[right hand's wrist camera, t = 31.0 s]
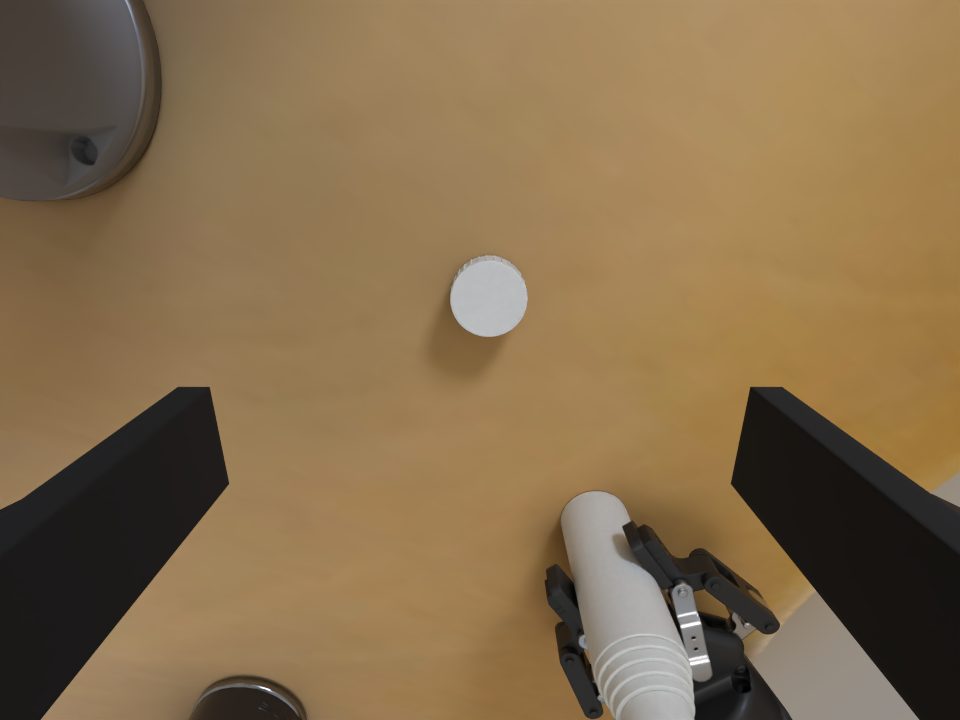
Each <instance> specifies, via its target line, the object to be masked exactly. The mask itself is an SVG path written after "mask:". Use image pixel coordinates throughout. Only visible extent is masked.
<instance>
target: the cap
mask: <svg viewBox="0 0 960 720" xmlns="http://www.w3.org/2000/svg"><path fill="white" fill-rule="evenodd" d="M453 282H454V283H452V286H451V289H450V290H451V294H450V305H451V309H452V312H453V314H454V316H455V318H456V320H457V321H458V323H459V324H460V325H461V326H462V327H463V328H465V329H466V330H467V331H469V332H471V333H473V334H475V335H478V336H483V337H494V336H499V335H502V334H505V333H507V332H508V331H510V330H512V329H513V328H514V327H515V326H516V325H517V324H518V323H519V322H520V320H521V319H522V317H523V315H524V313H525V310H526V307H527V300H528V298H527V289H526V286H525V285H526V284H525V281H524V279H523V278H522V275H521V273H520V271H518V270H517V269H516V266H515V265H513V264H511V263H510V261H509V260H508V261H507V260H505V259H503V258H502V257H501V258H500V257H497V256H495V255H493V256H487V255H485V256H481V257H479V256H478V257H477V258H474V259H470V261H469V262H467V263H466V264H464V266H463V267H462V268H461V269H459V270H458V273H457V275H455V277H454V280H453Z"/></svg>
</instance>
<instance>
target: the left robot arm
mask: <svg viewBox="0 0 960 720" xmlns="http://www.w3.org/2000/svg"><path fill="white" fill-rule="evenodd" d="M622 528H623V531H624V533H625V536H626V538H627V541H628V543H629V545H630V547H631V549H632V550H633V552H634V553H635V555H636V556H637V557H638V559H639V560H640V561H641V562H642V564H643V565H644V566H645V568H646V569H647V570H648V571H649V573H650V574H651V575H652V577H653V578H654V579H655V580H656V582H657V583H658V584H659V586H660V587H661V588H662V590H663V591H664V595H665V600H666V605H667V607H668V610H669V612H670V615H671V617H672V619H673V622H674V624H675V626H676V629H677V631H678V633H679V636H680V638H681V641H682V643H683V645H684V648H685V650H686V652H687V655H688V657H689V662H690V666H691V669H692V680H693V692H694V705H695V716H694V719H695V720H792V718H791V717H790V715H789V713H788V712H787V710H786V709H785V708H784V706H783V705H782V704H781V702H780V701H779V699H778V698H777V697H776V695H775V694H774V693H773V691H772V690H771V689H770V687H769V686H768V685H767V683H766V682H765V681H764V679H763V678H762V677H761V675H760V674H759V673H758V671H757V670H756V669H755V667H754V666H753V665H752V663H751V662H750V661H749V659H748V658H747V657H746V655H745V654H744V645H743V642H742V640H743V639H744V638H745V637H747V636H748V635H749V634H751V633H752V632H753V631H755V630H756V629H758V630H759V631H760V632H761V633H763V634H773V633H775V632H776V631H777V630H778V629H779V627H780V623H779V622H778V620H777V619H776V617H775V616H774V614H773V612H772V611H771V609H770V608H769V606H768V605H767V603H766V602H765V600H764V599H763V597H762V596H761V594H760V593H759V591H758V590H757V589H755V588H754V587H753V586H751V585H750V584H749V583H748V582H746V581H745V580H744V579H742V578H741V577H740V576H739V575H737V574H736V573H735V572H733V571H732V570H731V569H730V568H728V567H727V566H726V565H724V564H723V563H722V562H721V561H719V560H718V559H717V558H715V557H714V556H713V555H712V554H710V553H709V552H708V551H706V550H705V549H701V548H699V549H695V550H693V551H692V552H691V553H690V555H689V557H688V558H683V559H680V558H676V557H674V556H672V555H671V553H670V552H669V551H668V549H667V548H666V547H665V545H664V544H663V543H662V541H661V540H660V539H659V537H658V536H657V535H656V533H655V532H654V531H653V529H652V528H650V527H649V526H647V525H645V524H644V525H642V526H640V527H639V528H638V527H637V526H636V524H635V523H634V522H633V521H630V522H628V523H627V524H625V525H623V526H622ZM546 574H547V579H546V580H545V586H546V593H547V599H548V603H549V605H550V606H551V608H552V609H553V610H555V612H556V613H557V614H558V615H559V617H560V618H561V619H562V620H563V621H564V622H560V623H558V624H557V625H556V626H555V632H556V639H557V646H558V652H559V659H560V664H561V666H562V668H563V670H564V672H565V674H566V676H567V678H568V680H569V683H570V685H571V687H572V689H573V691H574V693H575V695H576V697H577V699H578V701H579V704H580V706H581V708H582V710H583V712H584V714H585V716H586V717H588V718H590V719H596V718H599V717H600V716H602V714H603V709H602V704H601V703H605V701H604V699H603V698H602V696H601V695H600V692H599V690H598V686H597V684H596V682H595V679H594V676H593V671H592V666H591V664H590V663H589V661H588V659H587V656H586V654H585V652H584V649H586V650H588V648H587V643H586V638H585V634H584V629H583V624H582V620H581V615H580V610H579V606H578V601H577V596H576V592H575V587H574V583H573V582H572V581H571V580H570V579H569V577H568V576H567V575H566V574H565V573H564V571H563V570H562V569H561V568H560V567H559V566H558V565H557V564H555V565H553V566H551V567H549V568H548V569H546ZM702 589H705V590H706V591H707V592H708V593H710V594H711V595H712V596H714V597H715V598H716V599H718V600H719V601H720V602H722V603H723V604H724V605H726V609H727V610H728V612H729V614H730V616H729V618H728V620H727V619H725V618H722V617H719V616H715V615H712V614H708V613H704V612H701V611H697V608H696V604H695V599H694V594H693V591H698V590H702ZM189 720H306V716H305V712H304V710H303V708H302V706H301V705H300V704H299V702H298V701H297V700H296V699H295V698H294V697H293V696H292V695H291V694H290V693H288V692H287V691H286V690H284V689H282V688H281V687H279V686H277V685H275V684H272V683H269V682H266V681H263V680H259V679H253V678H232V679H227V680H223V681H220V682H217V683H215V684H213V685H212V686H210V687H209V688H207V689H206V690H205V691H204V692H203V693H202V695H201V696H200V698H199V700H198V701H197V703H196V705H195V707H194V709H193V712H192V715H191V717H190V719H189Z"/></svg>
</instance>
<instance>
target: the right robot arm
mask: <svg viewBox="0 0 960 720" xmlns="http://www.w3.org/2000/svg"><path fill="white" fill-rule="evenodd" d="M160 99H161V66H160V58H159V51H158V46H157V42H156V38H155V33H154V30H153V27H152V24H151V20H150V17H149V15H148V12H147V10H146V7H145V5H144V2H143V0H0V197H3V198H8V199H14V200H22V201H47V200H67V199H74V198H80V197H84V196H88V195H91V194H94V193H96V192H99V191H101V190H103V189H105V188H107V187H109V186H110V185H112V184H114V183H115V182H116V181H118V180H119V179H120V178H122V177H123V176H124V175H125V174H126V173H127V172H128V171H129V170H130V169H131V168H132V167H133V166H134V165H135V163H136V162H137V161H138V160H139V158H140V157H141V155H142V154H143V152H144V150H145V149H146V147H147V145H148V143H149V141H150V138H151V136H152V133H153V131H154V128H155V125H156V121H157V117H158V112H159V106H160ZM228 485H229V481H228V476H227V471H226V466H225V461H224V456H223V451H222V446H221V441H220V436H219V431H218V426H217V421H216V416H215V411H214V406H213V402H212V397H211V392H210V387H177V388H176V389H175V390H173V391H172V392H170V393H169V394H168V395H166V396H165V397H163V398H162V399H161V400H159V401H158V402H156V403H155V404H154V405H152V406H151V407H149V408H148V409H147V410H145V411H144V412H143V413H141V414H140V415H138V416H137V417H136V418H134V419H133V420H131V421H130V422H129V423H127V424H126V425H124V426H123V427H122V428H120V429H119V430H117V431H116V432H115V433H113V434H112V435H111V436H109V437H108V438H106V439H105V440H104V441H102V442H101V443H99V444H98V445H97V446H95V447H94V448H92V449H91V450H90V451H88V452H87V453H85V454H84V455H83V456H81V457H80V458H78V459H77V460H76V461H74V462H73V463H72V464H70V465H69V466H67V467H66V468H65V469H63V470H62V471H60V472H59V473H58V474H56V475H55V476H53V477H52V478H51V479H49V480H48V481H46V482H45V483H44V484H42V485H41V486H40V487H38V488H37V489H35V490H34V491H33V492H31V493H30V494H28V495H27V496H26V497H24V498H23V499H21V500H19V501H17V502H15V503H13V504H11V505H9V506H7V507H5V508H3V509H1V510H0V720H41V718H42V717H43V716H44V715H45V713H46V712H47V711H48V710H49V708H50V707H51V706H52V705H53V703H54V702H55V701H56V700H57V698H58V697H59V696H60V695H61V693H62V692H63V691H64V690H65V688H66V687H67V686H68V685H69V683H70V682H71V681H72V680H73V678H74V677H75V676H76V675H77V673H78V672H79V671H80V670H81V668H82V667H83V666H84V665H85V663H86V662H87V661H88V660H89V658H90V657H91V656H92V655H93V653H94V652H95V651H96V650H97V648H98V647H99V646H100V645H101V643H102V642H103V641H104V640H105V638H106V637H107V636H108V635H109V633H110V632H111V631H112V630H113V628H114V627H115V626H116V625H117V623H118V622H119V621H120V620H121V618H122V617H123V616H124V615H125V613H126V612H127V611H128V610H129V608H130V607H131V606H132V605H133V603H134V602H135V601H136V600H137V598H138V597H139V596H140V595H141V593H142V592H143V591H144V590H145V588H146V587H147V586H148V585H149V583H150V582H151V581H152V580H153V578H154V577H155V576H156V575H157V573H158V572H159V571H160V570H161V568H162V567H163V566H164V565H165V563H166V562H167V561H168V560H169V558H170V557H171V556H172V555H173V553H174V552H175V551H176V550H177V548H178V547H179V546H180V545H181V543H182V542H183V541H184V540H185V538H186V537H187V536H188V535H189V533H190V532H191V531H192V530H193V528H194V527H195V526H196V525H197V523H198V522H199V521H200V520H201V518H202V517H203V516H204V515H205V513H206V512H207V511H208V510H209V508H210V507H211V506H212V505H213V503H214V502H215V501H216V500H217V498H218V497H219V496H220V495H221V493H222V492H223V491H224V490H225V488H226V487H227V486H228ZM731 485H732V486H733V487H734V488H735V490H736V491H737V492H738V493H739V495H740V496H741V497H742V498H743V500H744V501H745V502H746V503H747V505H748V506H749V507H750V508H751V510H752V511H753V512H754V513H755V515H756V516H757V517H758V518H759V520H760V521H761V522H762V523H763V525H764V526H765V527H766V528H767V530H768V531H769V532H770V533H771V535H772V536H773V537H774V538H775V540H776V541H777V542H778V543H779V545H780V546H781V547H782V548H783V550H784V551H785V552H786V553H787V555H788V556H789V557H790V558H791V560H792V561H793V562H794V563H795V565H796V566H797V567H798V568H799V570H800V571H801V572H802V573H803V575H804V576H805V577H806V578H807V580H808V581H809V582H810V583H811V585H812V586H813V587H814V588H815V590H816V591H817V592H818V593H819V595H820V596H821V597H822V598H823V600H824V601H825V602H826V603H827V605H828V606H829V607H830V608H831V610H832V611H833V612H834V613H835V615H836V616H837V617H838V618H839V620H840V621H841V622H842V623H843V625H844V626H845V627H846V628H847V630H848V631H849V632H850V633H851V635H852V636H853V637H854V638H855V640H856V641H857V642H858V643H859V645H860V646H861V647H862V648H863V650H864V651H865V652H866V653H867V655H868V656H869V657H870V658H871V660H872V661H873V662H874V663H875V665H876V666H877V667H878V668H879V670H880V671H881V672H882V673H883V675H884V676H885V677H886V678H887V680H888V681H889V682H890V683H891V685H892V686H893V687H894V688H895V690H896V691H897V692H898V693H899V695H900V696H901V697H902V698H903V700H904V701H905V702H906V703H907V705H908V706H909V707H910V708H911V710H912V711H913V712H914V713H915V715H916V716H917V717H918V718H919V720H960V507H958V506H956V505H954V504H952V503H950V502H948V501H945V500H943V499H941V498H939V497H937V496H935V495H933V494H930V493H929V492H927V491H926V490H925V489H923V488H922V487H920V486H919V485H918V484H916V483H915V482H914V481H912V480H911V479H909V478H908V477H907V476H905V475H904V474H902V473H901V472H900V471H898V470H897V469H895V468H894V467H893V466H891V465H890V464H888V463H887V462H886V461H884V460H883V459H882V458H880V457H879V456H877V455H876V454H875V453H873V452H872V451H870V450H869V449H868V448H866V447H865V446H863V445H862V444H861V443H859V442H858V441H856V440H855V439H854V438H852V437H851V436H849V435H848V434H847V433H845V432H844V431H843V430H841V429H840V428H838V427H837V426H836V425H834V424H833V423H831V422H830V421H829V420H827V419H826V418H824V417H823V416H822V415H820V414H819V413H817V412H816V411H815V410H813V409H812V408H811V407H809V406H808V405H806V404H805V403H804V402H802V401H801V400H799V399H798V398H797V397H795V396H794V395H792V394H791V393H790V392H788V391H787V390H785V389H784V388H783V387H750V392H749V397H748V402H747V406H746V411H745V416H744V421H743V426H742V431H741V436H740V441H739V446H738V451H737V456H736V461H735V466H734V471H733V476H732V481H731Z"/></svg>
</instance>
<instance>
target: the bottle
mask: <svg viewBox="0 0 960 720" xmlns="http://www.w3.org/2000/svg"><path fill="white" fill-rule="evenodd" d="M630 521H631V520H630V518H629V515H628V513H627V510H626V508H625V506H624V504H623V503H622V502H621V501H620V500H619V499H618V498H617V497H615V496H614V495H612V494H609V493H606V492H601V491H591V492H586V493H583V494H580V495H578V496H576V497H575V498H573V499H572V500H571V501H570V502H569V503H568V504H567V505H566V506H565V508H564V510H563V512H562V515H561V527H562V531H563V536H564V541H565V545H566V550H567V555H568V559H569V564H570V569H571V573H572V578H573V583H574V587H575V592H576V596H577V601H578V606H579V610H580V615H581V620H582V624H583V629H584V634H585V638H586V643H587V648H588V652H589V657H590V662H591V666H592V671H593V676H594V679H595V682H596V684H597V686H598V690H599V692H600V695H601V696H602V698H603V699H604V701H605V703H606V705H607V707H608V708H609V709H610V712H611V714H612V715H613V717H614V718H615V720H695V719H694V716H695V705H694V692H693V680H692V669H691V666H690V662H689V657H688V655H687V652H686V650H685V648H684V645H683V643H682V641H681V638H680V636H679V633H678V631H677V629H676V626H675V624H674V622H673V619H672V617H671V615H670V612H669V610H668V607H667V605H666V603H665V600H664V598H663V596H662V593H661V591H660V589H659V586H658V584H657V582H656V580H655V579H654V578H653V577H652V575H651V574H650V573H649V571H648V570H647V569H646V568H645V566H644V565H643V564H642V562H641V561H640V560H639V559H638V557H637V556H636V555H635V553H634V552H633V550H632V549H631V547H630V545H629V543H628V541H627V538H626V536H625V533H624V531H623V528H622V526H623V525H625V524H627V523H628V522H630Z"/></svg>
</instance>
